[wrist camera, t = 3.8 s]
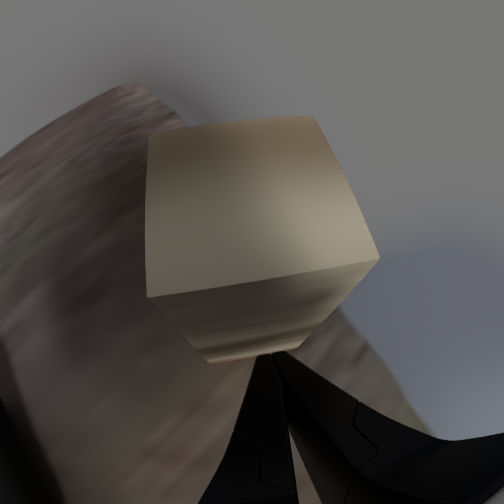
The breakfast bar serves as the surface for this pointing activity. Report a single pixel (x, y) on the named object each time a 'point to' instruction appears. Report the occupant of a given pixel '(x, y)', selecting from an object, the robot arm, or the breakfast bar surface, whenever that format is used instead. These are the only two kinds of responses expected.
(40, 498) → the end cap
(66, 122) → the breakfast bar surface
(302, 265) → the beech block
